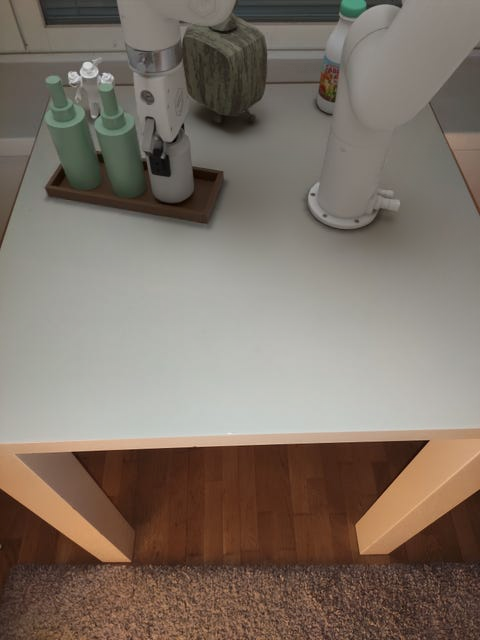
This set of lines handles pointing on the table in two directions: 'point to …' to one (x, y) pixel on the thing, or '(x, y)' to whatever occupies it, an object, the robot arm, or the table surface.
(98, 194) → the tray
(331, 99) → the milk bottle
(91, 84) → the hat wearing toy figure
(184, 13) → the robot arm
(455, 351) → the table surface
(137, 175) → the bottle
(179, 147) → the can
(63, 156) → the bottle
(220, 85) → the tabletop clock
